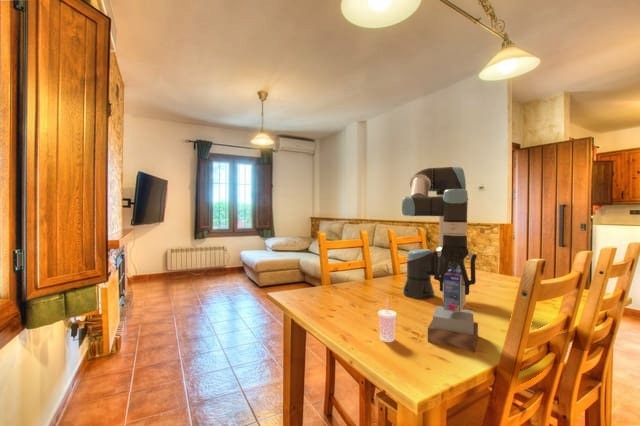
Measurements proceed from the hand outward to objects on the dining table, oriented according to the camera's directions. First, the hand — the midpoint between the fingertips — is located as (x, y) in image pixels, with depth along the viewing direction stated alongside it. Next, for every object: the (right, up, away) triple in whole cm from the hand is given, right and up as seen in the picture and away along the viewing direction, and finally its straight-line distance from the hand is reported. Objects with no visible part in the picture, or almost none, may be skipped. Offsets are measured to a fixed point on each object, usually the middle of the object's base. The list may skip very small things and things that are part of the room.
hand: (454, 302), depth 101 cm
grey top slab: (0, -8, 0) cm, 8 cm away
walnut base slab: (0, -13, 0) cm, 13 cm away
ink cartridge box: (0, -2, 0) cm, 2 cm away
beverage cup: (-23, -12, -1) cm, 26 cm away
